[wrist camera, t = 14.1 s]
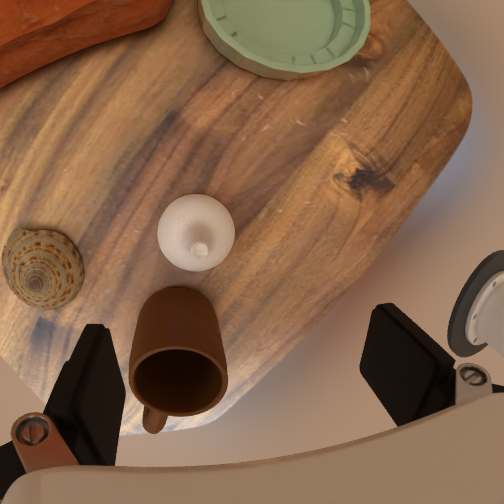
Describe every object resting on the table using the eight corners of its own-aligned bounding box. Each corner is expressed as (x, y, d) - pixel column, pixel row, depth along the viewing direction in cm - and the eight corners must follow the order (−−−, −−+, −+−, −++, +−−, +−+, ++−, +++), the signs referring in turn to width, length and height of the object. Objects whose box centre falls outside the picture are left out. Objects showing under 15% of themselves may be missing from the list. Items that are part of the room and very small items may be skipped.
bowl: (327, -45, 20) (342, -61, 16) (365, 73, 25) (388, 66, 22) (184, -36, 18) (185, -57, 15) (218, 94, 24) (223, 86, 20)
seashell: (-5, 218, 21) (48, 252, 20) (37, 211, 26) (91, 239, 25) (-7, 298, 23) (43, 339, 22) (30, 283, 28) (80, 317, 27)
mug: (184, 386, 33) (188, 453, 24) (119, 365, 30) (106, 432, 21) (229, 300, 30) (248, 362, 21) (154, 271, 28) (143, 328, 19)
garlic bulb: (165, 266, 28) (159, 311, 20) (153, 197, 25) (140, 219, 18) (235, 256, 29) (252, 297, 21) (227, 186, 26) (244, 205, 19)
